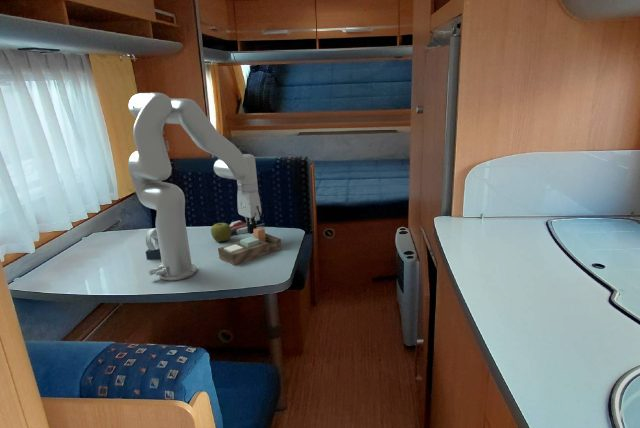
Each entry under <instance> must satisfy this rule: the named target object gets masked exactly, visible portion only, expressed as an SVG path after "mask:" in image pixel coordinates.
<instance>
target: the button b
mask: <svg viewBox="0 0 640 428" xmlns="http://www.w3.org/2000/svg"><path fill="white" fill-rule="evenodd" d="M239 242H240V243H241V245H243V246H245V247H251V246H254V245H257V244H259V239H256V238H254V236H248V237H246V238H241V239H240V241H239Z"/></svg>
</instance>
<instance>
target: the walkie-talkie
mask: <svg viewBox="0 0 640 428" xmlns="http://www.w3.org/2000/svg"><path fill="white" fill-rule="evenodd" d="M228 225H229V226H230V228H231V236H235V235H243V233H244V234H246V233H248V229H247V223H246V222H244V221H242V220H240V219H239V220H236V221H231V223H230V224H228ZM265 225H266V224H265V222H264V223H260V224H256V227H257V228H259V227H262V226H265ZM231 236H230V237H231Z"/></svg>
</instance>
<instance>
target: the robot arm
mask: <svg viewBox="0 0 640 428" xmlns="http://www.w3.org/2000/svg"><path fill="white" fill-rule="evenodd" d="M128 110H129V112H130V114H131V116H133V117H134V118H136V120H135V122H134V125H133V135H132V136H133V140H134V144H135V147H136V148H135V149H136V151H134V152H132V154H131V155H130V156H129V159H128V161H127V162H128V163H127V164H128V173H129V177H130V179H131V182H132V185H133V188H134V189H135V194H136V196H137V198H138V201H139V202H140V203H141V204H142V205H143V206H144V207H146V208H149V209H152V210H155V211H156V217H155V229H156V231H157V236H158V242H159V248H160V254H161V259H160V261H161V262H159V263H158V264H159V265H158V266H156V267H154V268H151V269H148V270H147V272H148V275H149V276H153V275H155V276H156V277H157V276H158V277H159V278H160V279H161V280H164V281H179V280H184V279H187V278H190V277H192V276H193V275H195V274H196V273H197V272H198V267H197V265H196V264H194V263H192V257H191V252H190V245H189V244H190V242H189V238H188V237H189V236H188V229H187V225H186V224H187V223H186V217H185V216H186V215H185V212H186V211H185V209H186V206H185V205H186V198H185V194H184V192H183V190H182V189H181V188H180V187H179V186H178V185H176V184H174V183H172V182H171V183H169V182H165V181H166V180H167V179H168V178H169V177H170V176H171V175H172V165H171V160H170V157H169V155H168V150H167V148H166V144H165V140H164V136H163V135H164V134H163V129H164V126H165V124H170V125H171V124H174V125H180V126H181V127H182V129H183V130H184V131H185V132H186V133H187V135H188V136H189V137H190V139H191V140H192V141H193V143H194V144H195V145H196V146H197V147H198V148H200V149H201V150H203V151H204V152H206V153H208V154H211V155H213V156H215V157H217V160H215V161H214V164H213V171H214V173H215V174H216V175H217V176H218V177H220V178H223V179H228V180H229V179H231V180H234V181H236V185H237V195H236V197H237V198H236V199H237V201H236V202H237V212H238V214H239V215H240V216H242V217H244V219H245V223H246V224H247V229H248V232H247V233H248V234H250V235H252V234H254V231H253V229H256V228H257V227H256V225H257V222H258V221H261V218H260V216H262V205H261V199H260V194H259V187H258V178H257V177H258V176H257V175H258V174H257V167H256V166H257V165H256V158H255V156H254V155H253V154H250V153H242V152H241V150H240V149H239V148H238V147H237V146H236V145H235V144H234V143H233V142H231V141H230V140H229V139H228V138H226V136H223V134H221V133H220V132H218V130H217V129H216V128H215V126H214V125H213V124H212V122H211V121H210V120H209V118H208V117H207V116H206V114H205V112H204V111H203V110H202V109H201V106H199V104H198V103H197V102H196V101H195V100H194V99H190V98H186V97H185V98H171V97H169V96H168V95H167V94H165V93H161V92H139V93H136V94H134V95H132V96H131V98H130V100H129V102H128Z"/></svg>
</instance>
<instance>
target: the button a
mask: <svg viewBox="0 0 640 428" xmlns="http://www.w3.org/2000/svg"><path fill="white" fill-rule="evenodd" d="M242 249H243V247H241V246H238V245H236V244H235V245H232V246H229V247H226V248H224V250H226V251H228V252H230V253H232V252H235V251H239V250H242Z"/></svg>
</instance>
